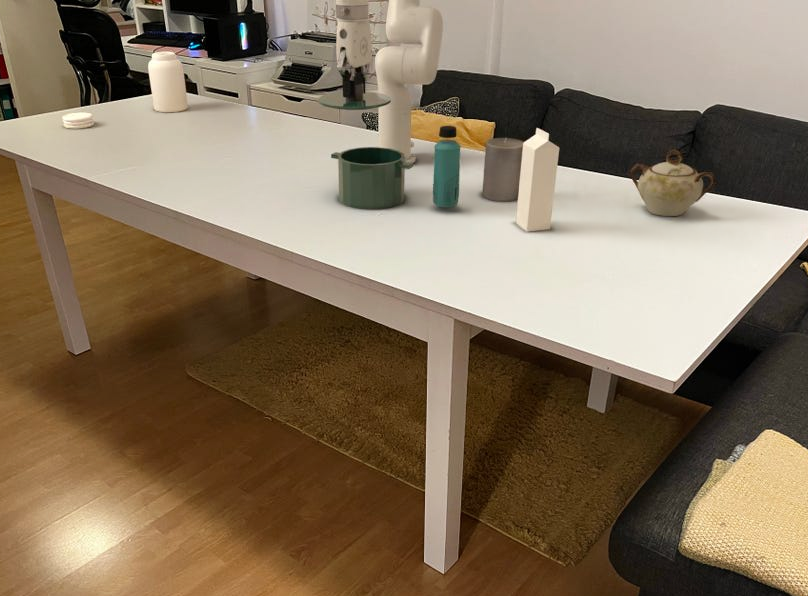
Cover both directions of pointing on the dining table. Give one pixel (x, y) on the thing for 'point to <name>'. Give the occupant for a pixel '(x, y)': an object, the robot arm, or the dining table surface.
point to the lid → (354, 100)
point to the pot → (371, 177)
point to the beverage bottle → (446, 169)
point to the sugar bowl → (670, 186)
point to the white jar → (167, 82)
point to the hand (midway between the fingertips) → (354, 94)
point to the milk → (537, 182)
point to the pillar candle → (502, 169)
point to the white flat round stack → (78, 120)
